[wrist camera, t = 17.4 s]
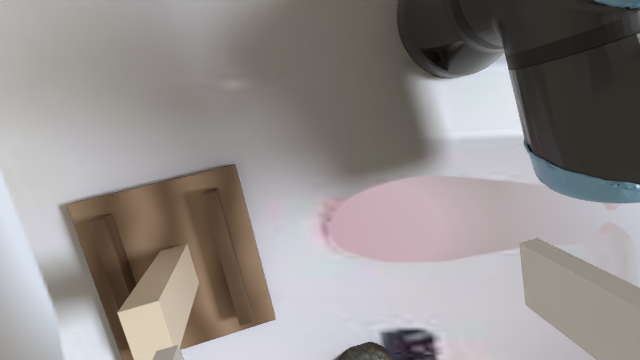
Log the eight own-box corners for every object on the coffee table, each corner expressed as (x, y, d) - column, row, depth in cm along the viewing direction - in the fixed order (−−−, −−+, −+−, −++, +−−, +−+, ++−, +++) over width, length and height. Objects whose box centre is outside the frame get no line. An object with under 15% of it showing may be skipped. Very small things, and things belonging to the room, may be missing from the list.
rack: (235, 164, 42) (234, 167, 38) (274, 313, 46) (277, 330, 42) (73, 202, 39) (54, 210, 35) (129, 359, 42) (117, 382, 39)
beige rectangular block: (187, 243, 40) (158, 300, 27) (198, 283, 41) (177, 357, 28) (160, 250, 40) (117, 312, 26) (172, 290, 41) (137, 369, 27)
